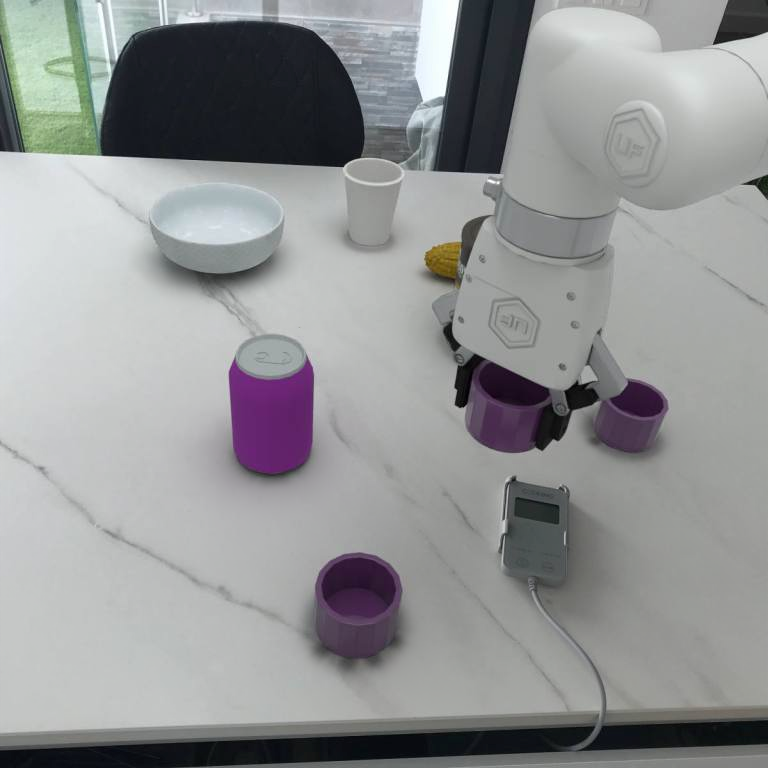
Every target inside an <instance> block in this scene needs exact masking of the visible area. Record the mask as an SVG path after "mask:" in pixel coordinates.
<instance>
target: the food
mask: <svg viewBox="0 0 768 768" xmlns="http://www.w3.org/2000/svg"><path fill="white" fill-rule="evenodd" d="M461 242H462V241H453V242H445V243H442V244H438V245H437V246H435V245H433V246H432V247H431V249H429V250H428V251H425V254H424V259H423V260H424V261H425V266H426V267H427V269H428V270H429V271H430V272H434V274H437V275H439V276H441V277H446V278H449V279H454V280H456V273H457V267H458V261H459V254H460V248H461Z"/></svg>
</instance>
